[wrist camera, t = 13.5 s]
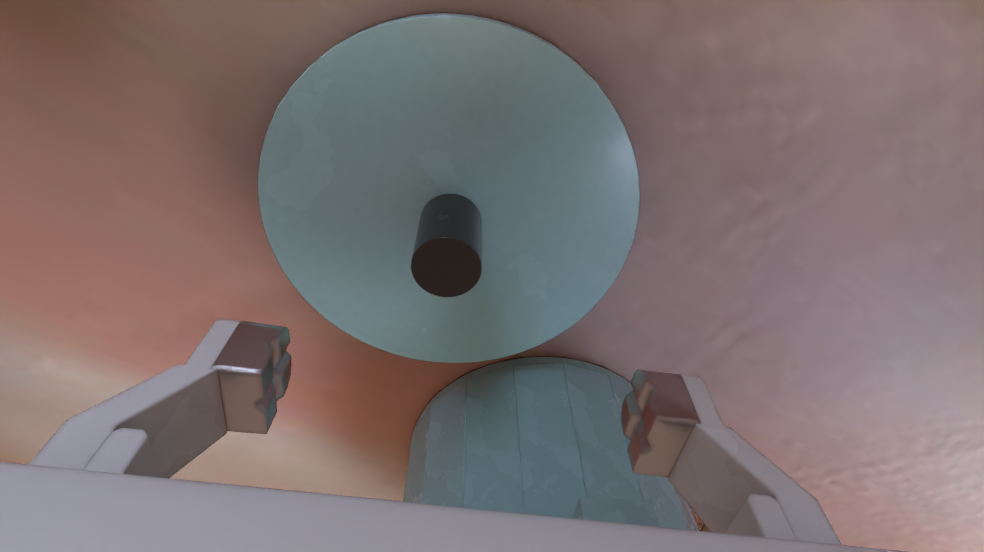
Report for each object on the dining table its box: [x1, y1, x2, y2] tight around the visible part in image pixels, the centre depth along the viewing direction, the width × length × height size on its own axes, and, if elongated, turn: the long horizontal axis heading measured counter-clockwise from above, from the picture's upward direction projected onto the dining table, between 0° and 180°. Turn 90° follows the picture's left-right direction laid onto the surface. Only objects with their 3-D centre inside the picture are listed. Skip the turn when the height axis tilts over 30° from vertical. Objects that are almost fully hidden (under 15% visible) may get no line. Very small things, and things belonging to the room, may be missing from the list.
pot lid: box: [258, 13, 640, 363], centre depth 21 cm, size 15×15×5 cm
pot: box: [403, 357, 699, 531], centre depth 26 cm, size 14×19×12 cm
